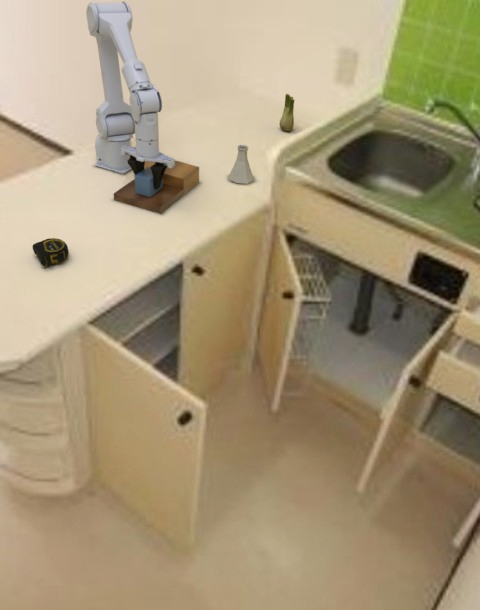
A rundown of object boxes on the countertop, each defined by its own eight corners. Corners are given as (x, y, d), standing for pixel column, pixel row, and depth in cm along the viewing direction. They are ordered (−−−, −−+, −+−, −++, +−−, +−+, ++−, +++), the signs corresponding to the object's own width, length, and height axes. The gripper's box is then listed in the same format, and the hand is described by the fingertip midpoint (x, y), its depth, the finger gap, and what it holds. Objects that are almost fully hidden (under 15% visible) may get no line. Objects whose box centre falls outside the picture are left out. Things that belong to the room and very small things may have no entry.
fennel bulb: (292, 133, 220) (296, 99, 213) (278, 131, 220) (281, 97, 213) (293, 127, 225) (297, 93, 218) (279, 125, 225) (282, 91, 217)
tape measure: (33, 254, 145) (30, 240, 143) (63, 248, 149) (62, 234, 147) (41, 270, 141) (39, 256, 139) (73, 263, 145) (71, 249, 142)
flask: (249, 186, 185) (251, 154, 179) (225, 181, 186) (226, 149, 180) (256, 176, 191) (258, 144, 185) (233, 171, 192) (234, 139, 186)
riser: (113, 200, 169) (112, 182, 167) (155, 170, 186) (155, 154, 183) (161, 213, 167) (160, 196, 164) (199, 182, 183) (199, 166, 180)
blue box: (135, 193, 169) (134, 175, 166) (148, 183, 174) (147, 166, 171) (150, 197, 169) (149, 179, 166) (162, 187, 174) (162, 170, 171)
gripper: (112, 135, 161) (116, 184, 169) (164, 149, 158) (165, 198, 166) (128, 126, 166) (131, 174, 174) (178, 139, 164) (179, 187, 172)
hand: (148, 185), depth 171 cm, fingers closed on blue box, 4 cm apart
